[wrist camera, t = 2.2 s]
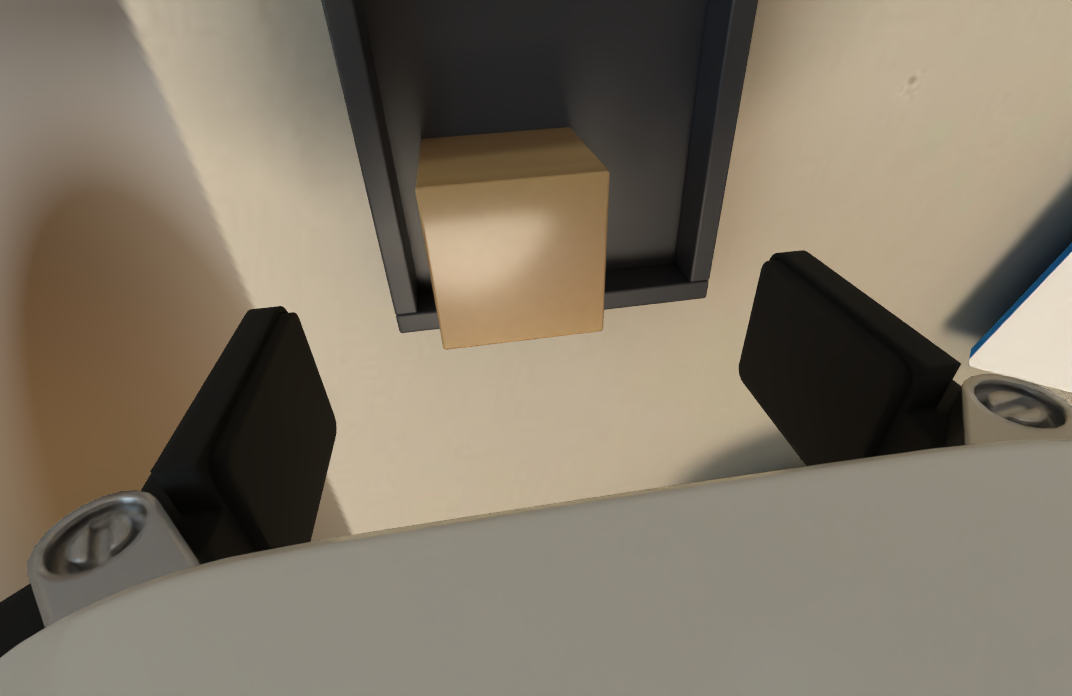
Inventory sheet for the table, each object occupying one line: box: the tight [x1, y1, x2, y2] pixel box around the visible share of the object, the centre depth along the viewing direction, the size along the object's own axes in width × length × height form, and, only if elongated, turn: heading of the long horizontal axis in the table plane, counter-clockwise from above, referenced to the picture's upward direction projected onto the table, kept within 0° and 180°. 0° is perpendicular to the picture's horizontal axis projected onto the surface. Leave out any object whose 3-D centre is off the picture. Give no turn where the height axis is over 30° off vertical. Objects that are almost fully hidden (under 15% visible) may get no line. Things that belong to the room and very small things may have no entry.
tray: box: [321, 0, 758, 333], centre depth 14 cm, size 15×10×2 cm
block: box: [415, 127, 610, 349], centre depth 15 cm, size 4×4×4 cm
